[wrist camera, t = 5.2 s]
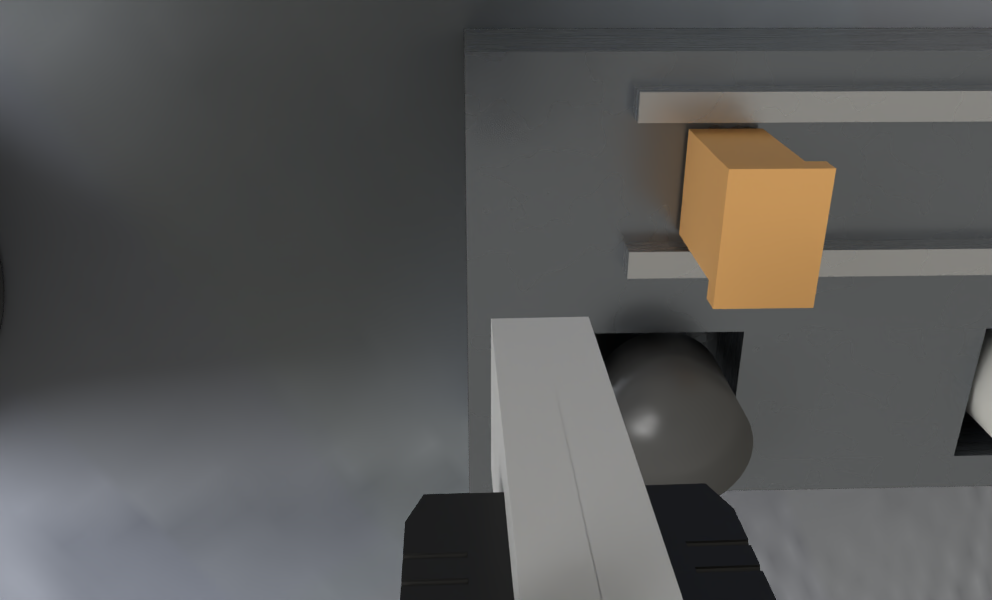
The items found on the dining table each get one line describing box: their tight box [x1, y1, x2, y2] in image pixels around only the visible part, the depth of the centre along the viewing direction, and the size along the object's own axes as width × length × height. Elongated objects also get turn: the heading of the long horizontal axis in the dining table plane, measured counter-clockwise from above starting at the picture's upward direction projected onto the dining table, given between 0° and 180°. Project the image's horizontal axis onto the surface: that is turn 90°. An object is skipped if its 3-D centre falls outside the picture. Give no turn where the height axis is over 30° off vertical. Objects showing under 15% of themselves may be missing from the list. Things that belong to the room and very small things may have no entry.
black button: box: [604, 332, 753, 495], centre depth 27 cm, size 4×4×4 cm
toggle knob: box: [679, 128, 836, 309], centre depth 22 cm, size 2×3×5 cm
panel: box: [464, 28, 992, 493], centre depth 28 cm, size 24×14×5 cm, turn 90°
